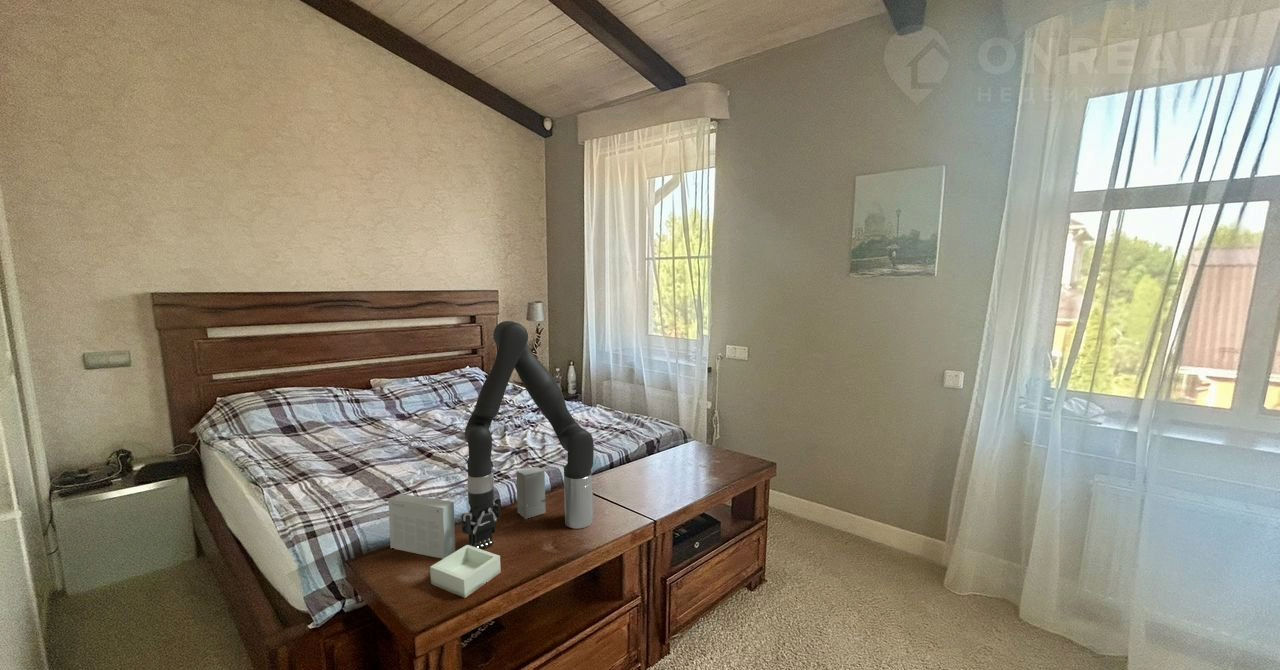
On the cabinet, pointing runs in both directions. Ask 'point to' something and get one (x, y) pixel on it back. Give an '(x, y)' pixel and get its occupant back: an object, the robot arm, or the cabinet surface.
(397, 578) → the cabinet surface
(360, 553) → the cabinet surface
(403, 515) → the skincare box
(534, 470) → the skincare box
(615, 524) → the cabinet surface
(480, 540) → the battery charger
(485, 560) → the bin
